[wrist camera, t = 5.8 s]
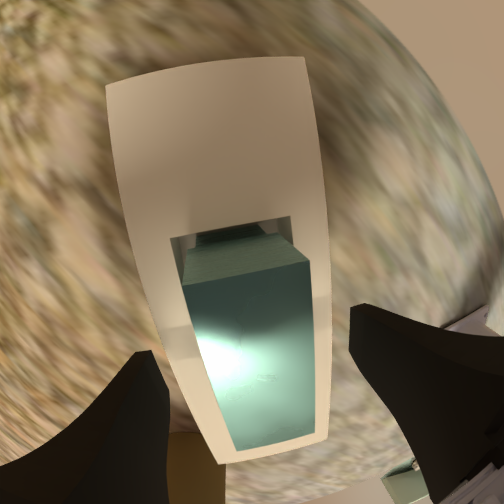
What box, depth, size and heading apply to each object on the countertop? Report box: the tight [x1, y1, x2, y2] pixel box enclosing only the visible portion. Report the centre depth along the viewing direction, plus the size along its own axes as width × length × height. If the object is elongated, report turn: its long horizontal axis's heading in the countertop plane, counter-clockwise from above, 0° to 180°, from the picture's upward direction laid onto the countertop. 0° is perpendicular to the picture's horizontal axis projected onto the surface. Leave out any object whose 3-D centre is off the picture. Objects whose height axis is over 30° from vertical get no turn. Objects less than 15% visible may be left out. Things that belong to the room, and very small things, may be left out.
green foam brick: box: [182, 224, 315, 451], centre depth 10 cm, size 7×3×6 cm, turn 9°
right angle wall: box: [380, 457, 429, 504], centre depth 27 cm, size 12×12×8 cm
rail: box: [105, 56, 332, 465], centre depth 13 cm, size 20×7×4 cm, turn 9°
